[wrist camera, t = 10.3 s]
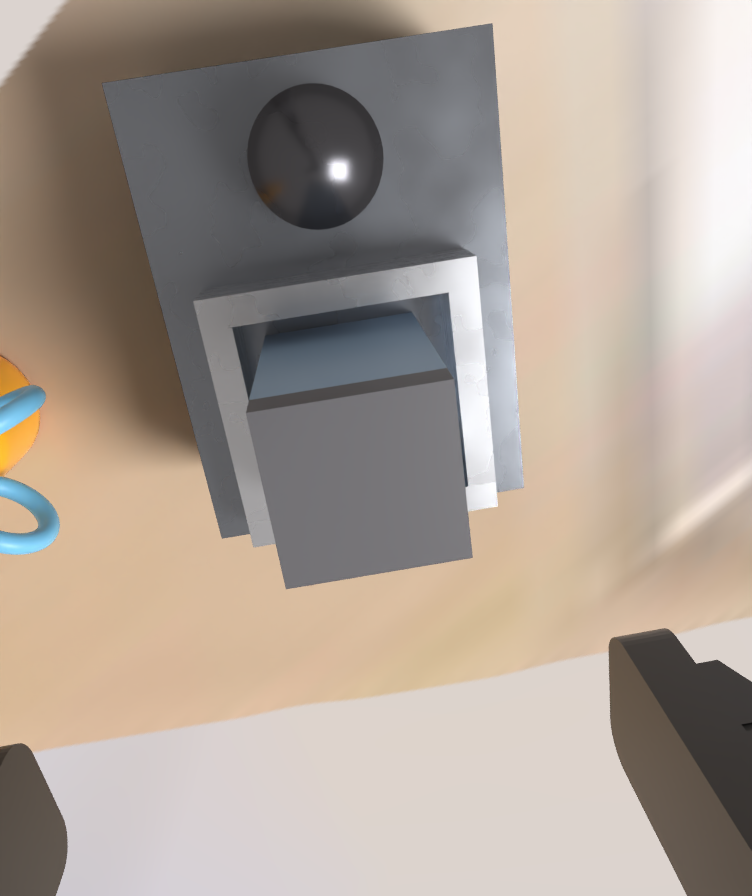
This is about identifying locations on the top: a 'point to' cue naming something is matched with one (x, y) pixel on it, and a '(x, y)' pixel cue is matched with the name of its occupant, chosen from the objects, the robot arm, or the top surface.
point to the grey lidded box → (358, 450)
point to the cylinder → (6, 441)
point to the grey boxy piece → (327, 231)
